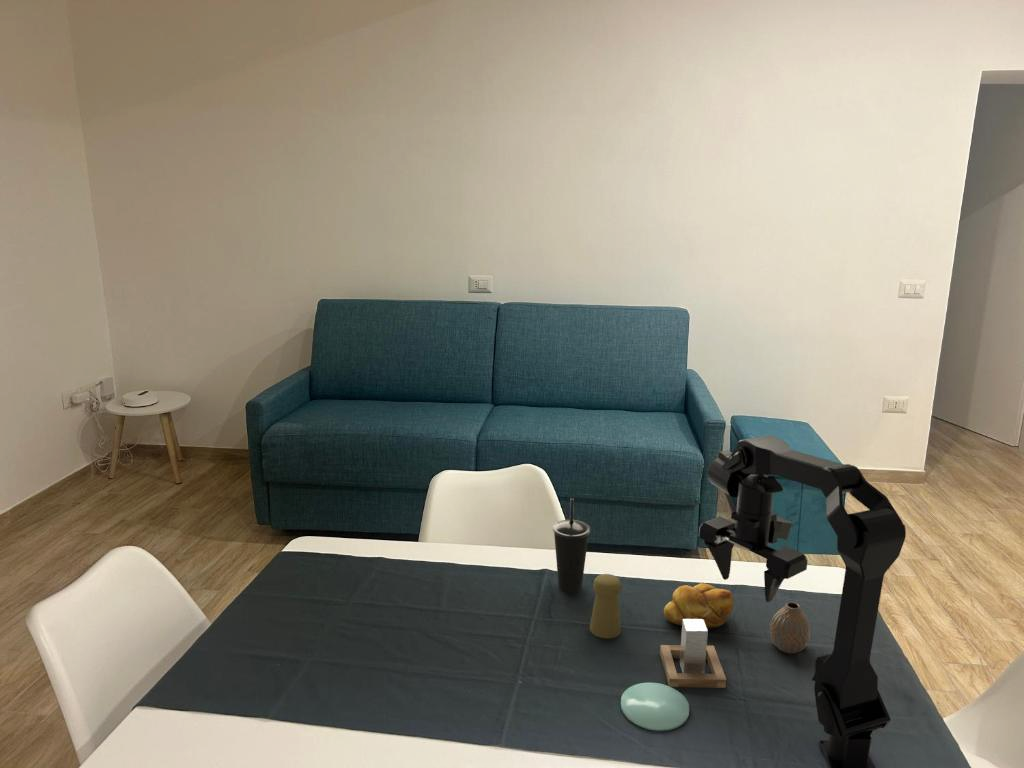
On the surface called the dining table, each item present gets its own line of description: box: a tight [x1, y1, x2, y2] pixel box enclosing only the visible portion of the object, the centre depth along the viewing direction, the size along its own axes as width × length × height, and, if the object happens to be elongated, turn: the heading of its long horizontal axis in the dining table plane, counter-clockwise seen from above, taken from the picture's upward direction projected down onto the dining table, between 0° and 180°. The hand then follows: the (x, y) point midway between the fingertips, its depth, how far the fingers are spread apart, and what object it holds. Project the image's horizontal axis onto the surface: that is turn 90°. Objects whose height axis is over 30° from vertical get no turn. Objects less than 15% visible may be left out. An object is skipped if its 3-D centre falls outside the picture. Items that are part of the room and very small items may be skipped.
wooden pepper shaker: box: [589, 573, 622, 639], centre depth 150 cm, size 6×6×11 cm
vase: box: [769, 601, 811, 655], centre depth 145 cm, size 7×7×9 cm
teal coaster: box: [620, 682, 690, 732], centre depth 130 cm, size 11×11×1 cm
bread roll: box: [663, 582, 735, 630], centre depth 154 cm, size 13×10×8 cm
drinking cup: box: [552, 498, 591, 594], centre depth 163 cm, size 8×8×20 cm
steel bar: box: [679, 619, 709, 674], centre depth 138 cm, size 4×4×9 cm
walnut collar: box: [659, 644, 727, 689], centre depth 139 cm, size 10×10×2 cm
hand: (746, 589), depth 139 cm, fingers open, 9 cm apart
